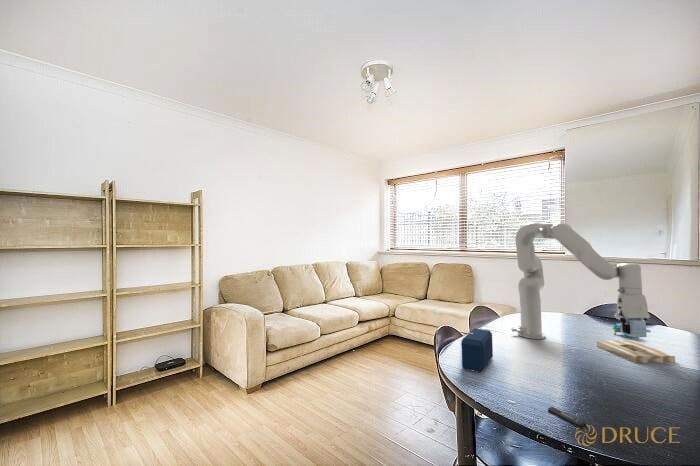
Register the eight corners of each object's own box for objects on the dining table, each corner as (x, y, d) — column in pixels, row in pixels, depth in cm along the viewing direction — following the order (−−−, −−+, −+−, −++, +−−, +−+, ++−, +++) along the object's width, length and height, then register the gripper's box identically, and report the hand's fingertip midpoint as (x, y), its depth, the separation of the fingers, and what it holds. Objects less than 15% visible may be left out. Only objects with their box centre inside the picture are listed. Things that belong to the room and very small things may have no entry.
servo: (638, 338, 130) (637, 321, 130) (616, 331, 141) (616, 315, 141) (651, 338, 130) (649, 320, 130) (628, 331, 141) (627, 314, 141)
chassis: (635, 362, 126) (634, 356, 126) (596, 346, 146) (596, 340, 146) (675, 362, 125) (674, 355, 125) (631, 345, 145) (631, 340, 145)
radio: (472, 354, 138) (471, 309, 139) (493, 358, 133) (492, 311, 134) (459, 370, 121) (457, 319, 122) (483, 375, 116) (481, 322, 117)
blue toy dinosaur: (644, 335, 156) (633, 322, 154) (641, 344, 154) (630, 331, 152) (619, 332, 166) (608, 320, 165) (616, 341, 164) (605, 329, 162)
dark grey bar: (546, 412, 91) (546, 407, 91) (552, 410, 92) (552, 405, 92) (581, 430, 83) (581, 424, 83) (587, 427, 84) (587, 421, 84)
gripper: (618, 293, 133) (620, 335, 132) (658, 292, 132) (661, 335, 132) (604, 290, 140) (606, 331, 139) (642, 289, 140) (644, 330, 139)
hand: (633, 332), depth 136 cm, fingers closed on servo, 5 cm apart
